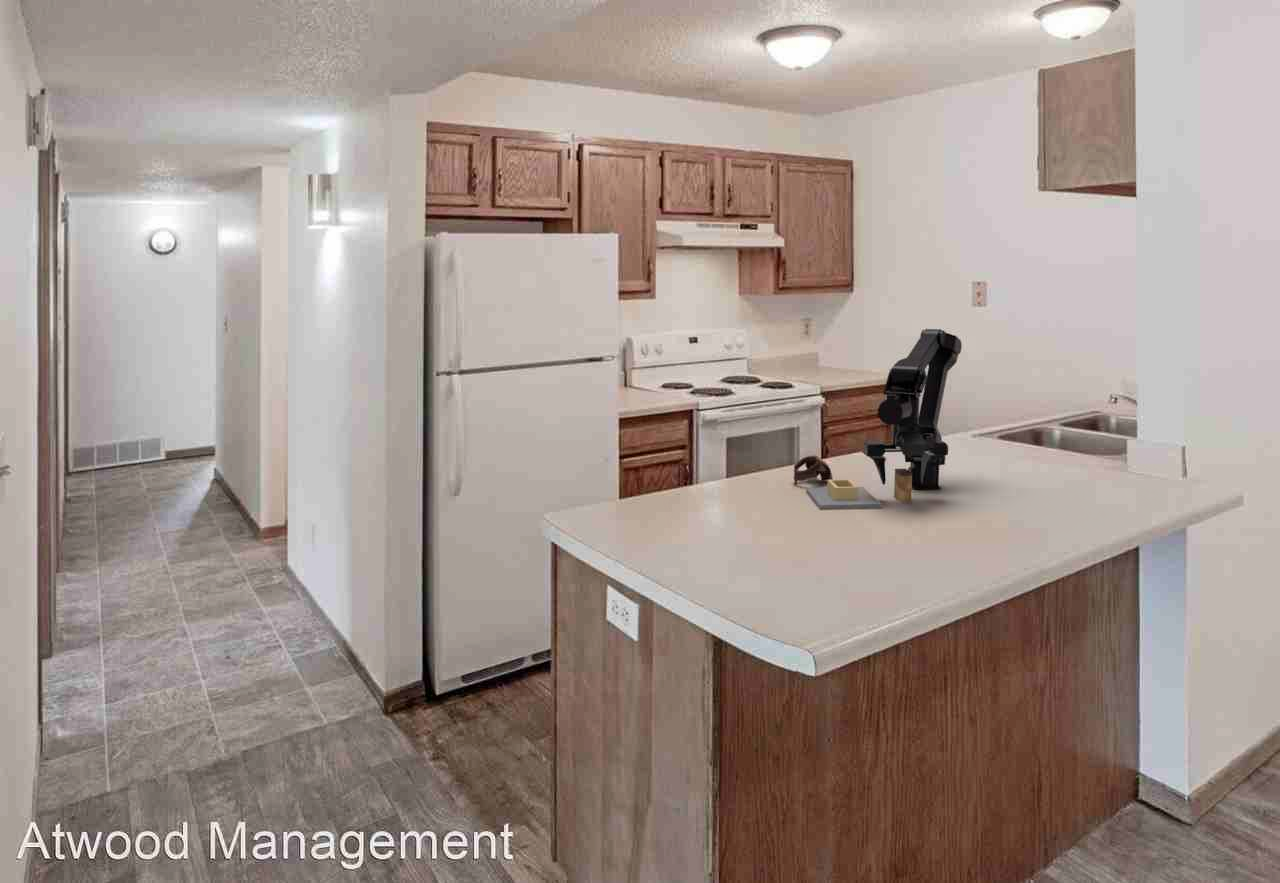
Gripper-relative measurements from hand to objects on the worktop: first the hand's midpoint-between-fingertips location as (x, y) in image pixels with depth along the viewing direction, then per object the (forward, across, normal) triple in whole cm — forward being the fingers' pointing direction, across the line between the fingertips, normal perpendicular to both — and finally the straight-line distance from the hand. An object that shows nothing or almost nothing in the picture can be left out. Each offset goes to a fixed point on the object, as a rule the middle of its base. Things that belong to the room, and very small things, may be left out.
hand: (903, 483), depth 204 cm
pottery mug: (+4, -17, +18) cm, 26 cm away
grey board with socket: (+4, -14, +1) cm, 15 cm away
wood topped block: (+4, 0, 0) cm, 4 cm away
